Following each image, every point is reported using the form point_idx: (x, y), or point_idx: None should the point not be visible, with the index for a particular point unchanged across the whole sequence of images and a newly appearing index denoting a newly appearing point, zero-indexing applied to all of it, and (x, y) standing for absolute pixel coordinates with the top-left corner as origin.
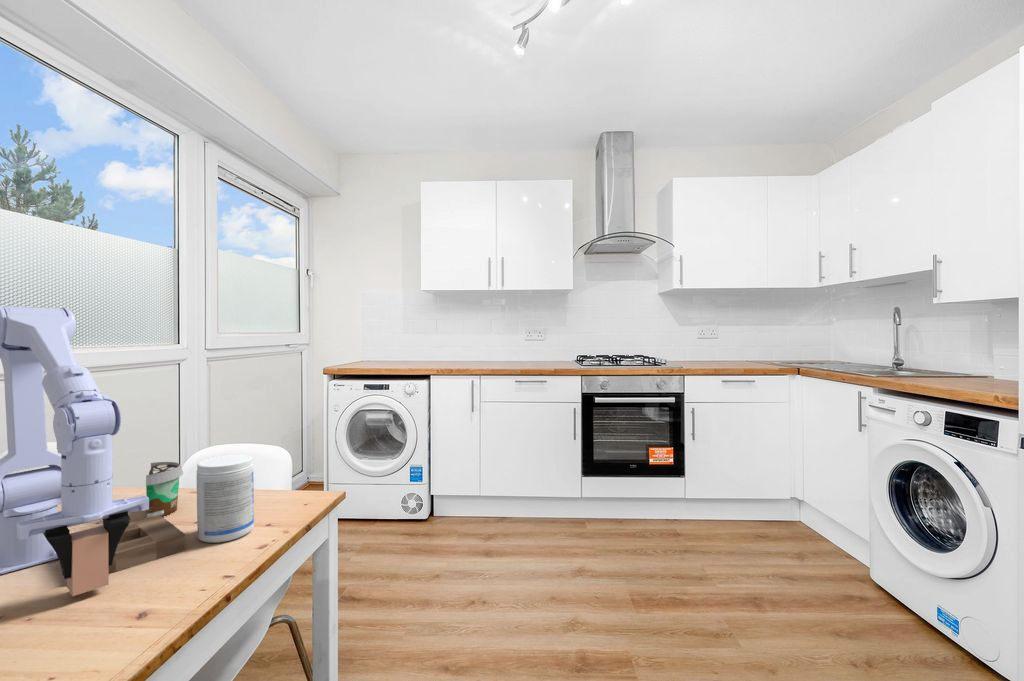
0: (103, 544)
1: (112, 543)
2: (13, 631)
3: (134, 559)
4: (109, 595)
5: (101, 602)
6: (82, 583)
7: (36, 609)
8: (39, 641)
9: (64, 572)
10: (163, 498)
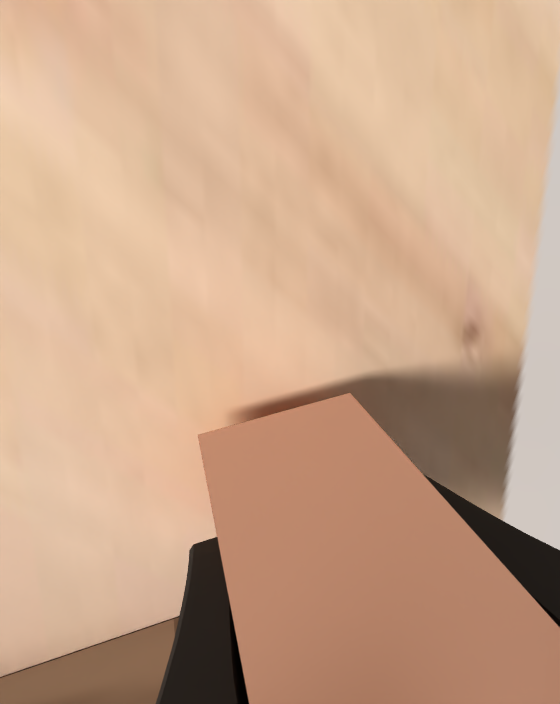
0: (292, 678)
1: (208, 700)
2: (523, 253)
3: (90, 680)
4: (187, 372)
5: (220, 309)
6: (330, 431)
7: (444, 414)
8: (467, 35)
9: (454, 495)
10: None
